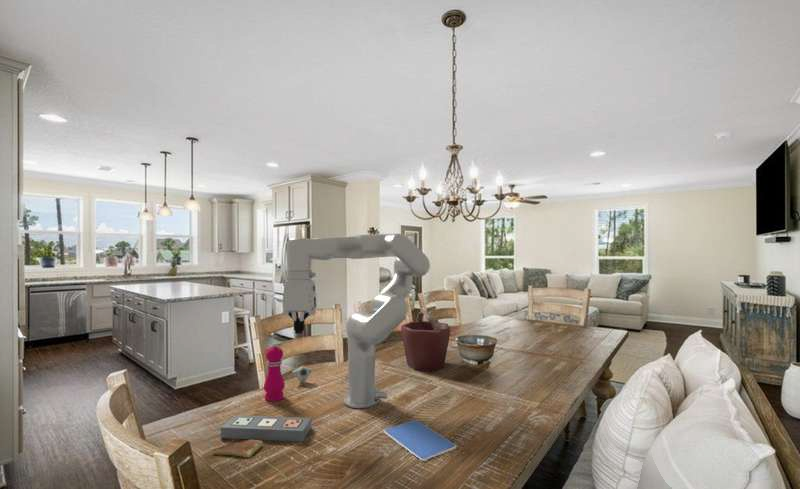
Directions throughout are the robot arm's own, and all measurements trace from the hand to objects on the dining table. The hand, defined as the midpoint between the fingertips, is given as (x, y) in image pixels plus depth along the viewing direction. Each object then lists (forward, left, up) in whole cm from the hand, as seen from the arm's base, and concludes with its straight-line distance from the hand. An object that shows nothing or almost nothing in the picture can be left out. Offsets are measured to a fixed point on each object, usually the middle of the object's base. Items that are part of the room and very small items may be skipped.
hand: (299, 332), depth 121 cm
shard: (+8, +22, -28) cm, 36 cm away
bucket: (-40, -57, -27) cm, 75 cm away
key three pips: (-2, +11, -26) cm, 28 cm away
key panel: (+5, +11, -27) cm, 30 cm away
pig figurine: (+9, -30, -27) cm, 42 cm away
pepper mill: (+14, -14, -27) cm, 34 cm away
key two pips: (+13, +11, -26) cm, 31 cm away
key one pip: (+5, +11, -26) cm, 29 cm away
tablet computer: (-39, +11, -28) cm, 49 cm away
